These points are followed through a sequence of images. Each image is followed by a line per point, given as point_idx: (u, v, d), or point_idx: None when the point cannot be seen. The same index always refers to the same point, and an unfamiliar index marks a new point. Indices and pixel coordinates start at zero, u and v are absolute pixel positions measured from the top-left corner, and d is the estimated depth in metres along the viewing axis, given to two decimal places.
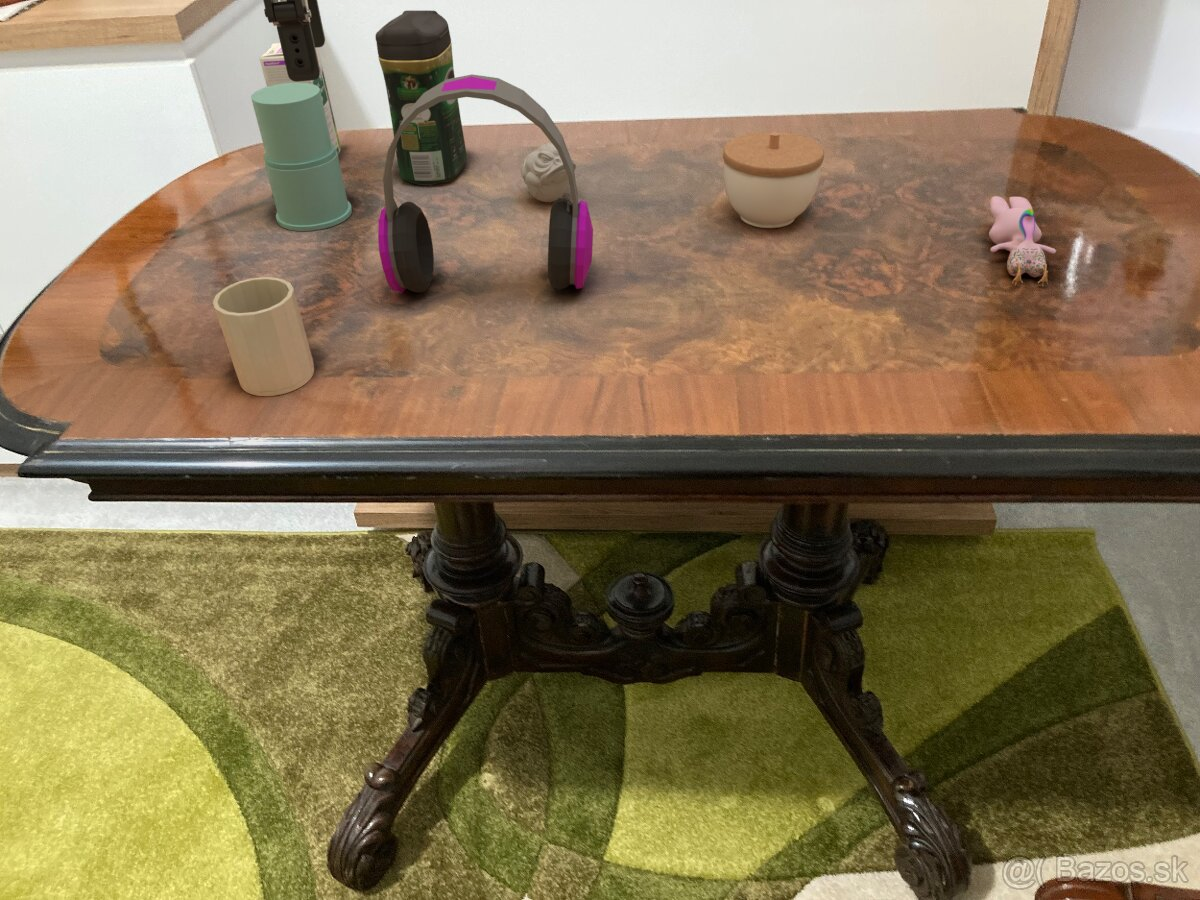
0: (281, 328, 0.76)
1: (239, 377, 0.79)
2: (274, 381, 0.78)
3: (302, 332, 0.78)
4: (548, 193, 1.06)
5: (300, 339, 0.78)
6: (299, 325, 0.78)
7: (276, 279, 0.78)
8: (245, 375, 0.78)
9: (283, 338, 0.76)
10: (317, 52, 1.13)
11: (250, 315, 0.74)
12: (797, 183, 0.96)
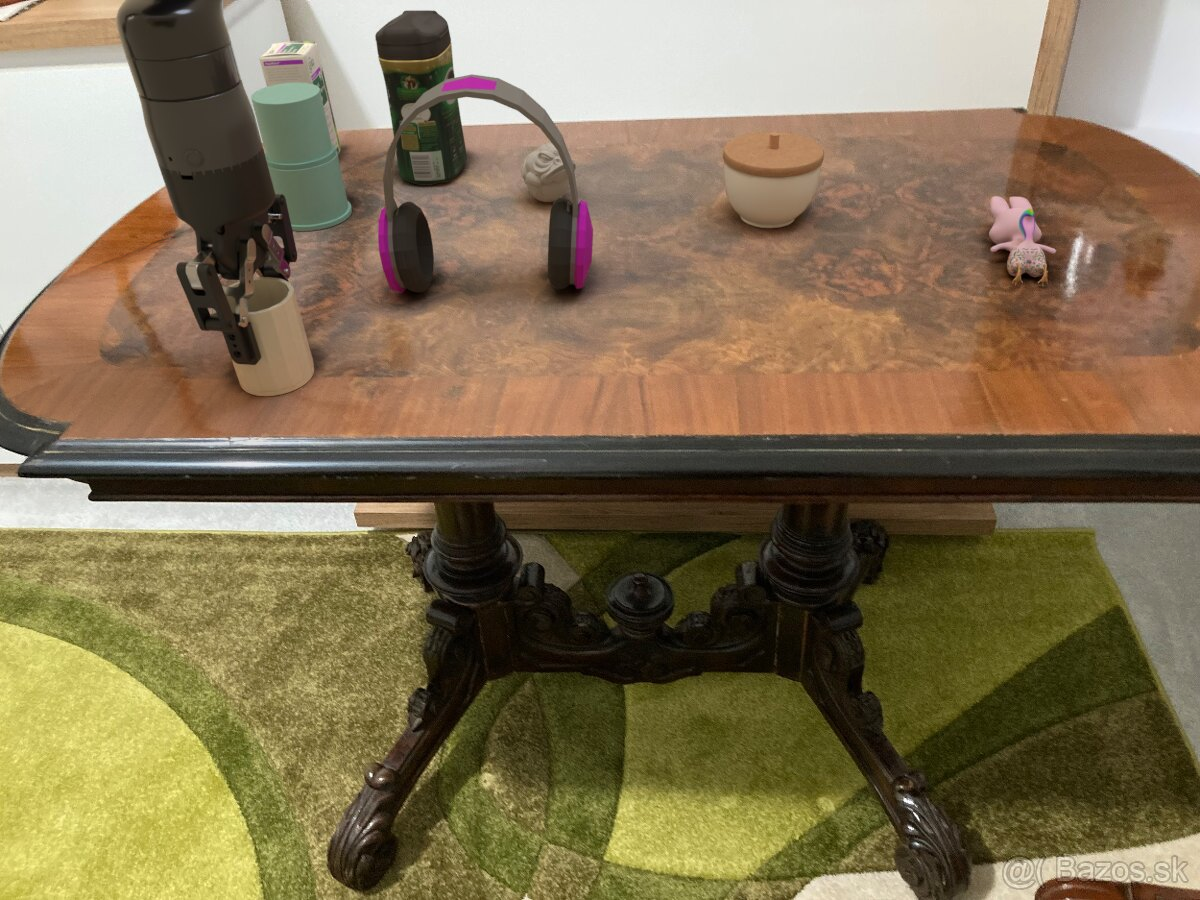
0: (281, 328, 0.76)
1: (239, 377, 0.79)
2: (274, 381, 0.78)
3: (302, 332, 0.78)
4: (548, 193, 1.06)
5: (300, 339, 0.78)
6: (299, 325, 0.78)
7: (276, 279, 0.78)
8: (245, 375, 0.78)
9: (283, 338, 0.76)
10: (317, 52, 1.13)
11: (250, 315, 0.74)
12: (797, 183, 0.96)
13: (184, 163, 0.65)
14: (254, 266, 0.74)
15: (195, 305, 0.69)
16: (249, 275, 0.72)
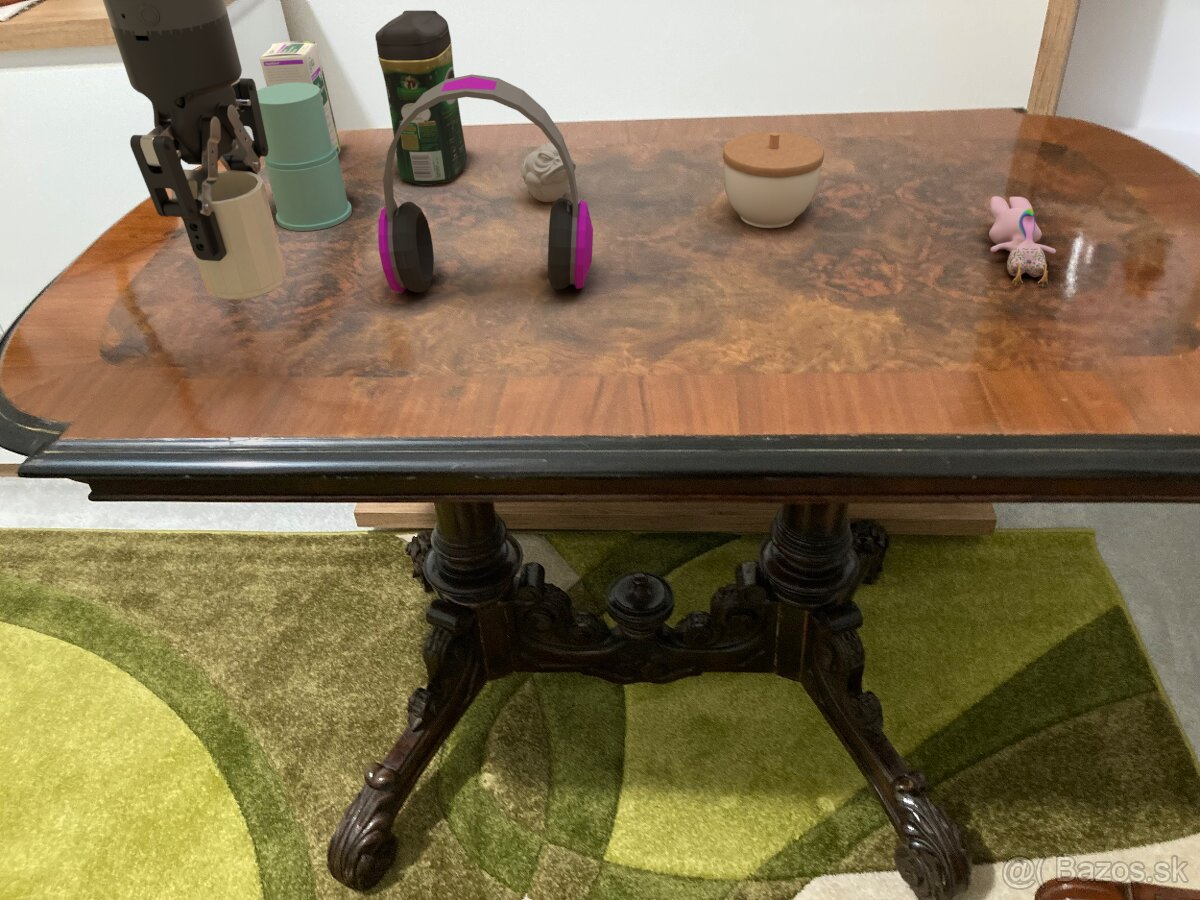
0: (249, 221, 0.70)
1: (204, 278, 0.73)
2: (241, 282, 0.72)
3: (272, 230, 0.73)
4: (548, 193, 1.06)
5: (270, 237, 0.72)
6: (268, 221, 0.72)
7: (245, 172, 0.72)
8: (209, 275, 0.72)
9: (251, 233, 0.70)
10: (317, 52, 1.13)
11: (214, 204, 0.68)
12: (797, 183, 0.96)
13: (138, 21, 0.59)
14: (219, 151, 0.68)
15: (151, 185, 0.63)
16: (212, 158, 0.66)
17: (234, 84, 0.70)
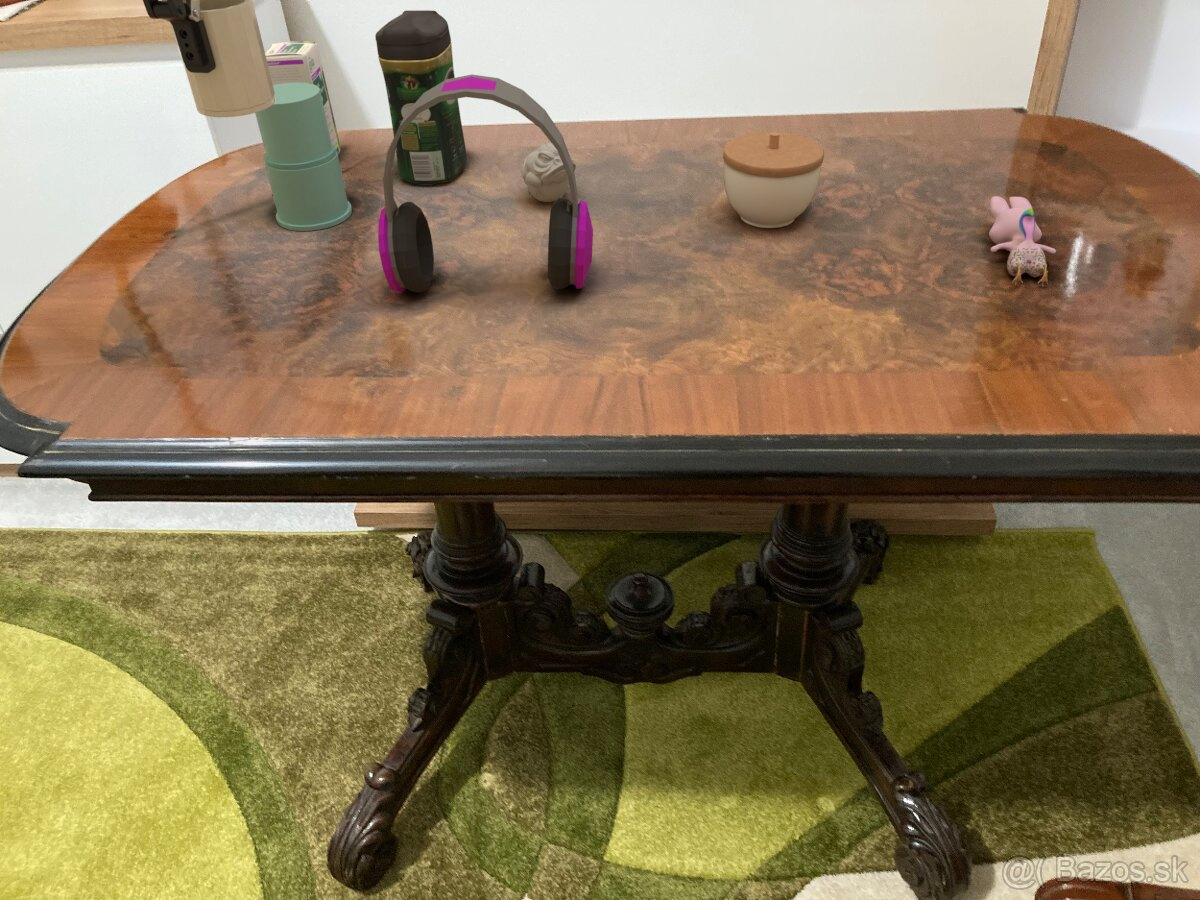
0: (237, 34, 0.72)
1: (195, 97, 0.75)
2: (231, 98, 0.74)
3: (261, 50, 0.75)
4: (548, 193, 1.06)
5: (259, 56, 0.75)
6: (257, 39, 0.74)
7: None
8: (200, 92, 0.74)
9: (239, 47, 0.73)
10: (317, 52, 1.13)
11: (203, 13, 0.70)
12: (797, 183, 0.96)
13: None
14: None
15: None
16: None
17: None
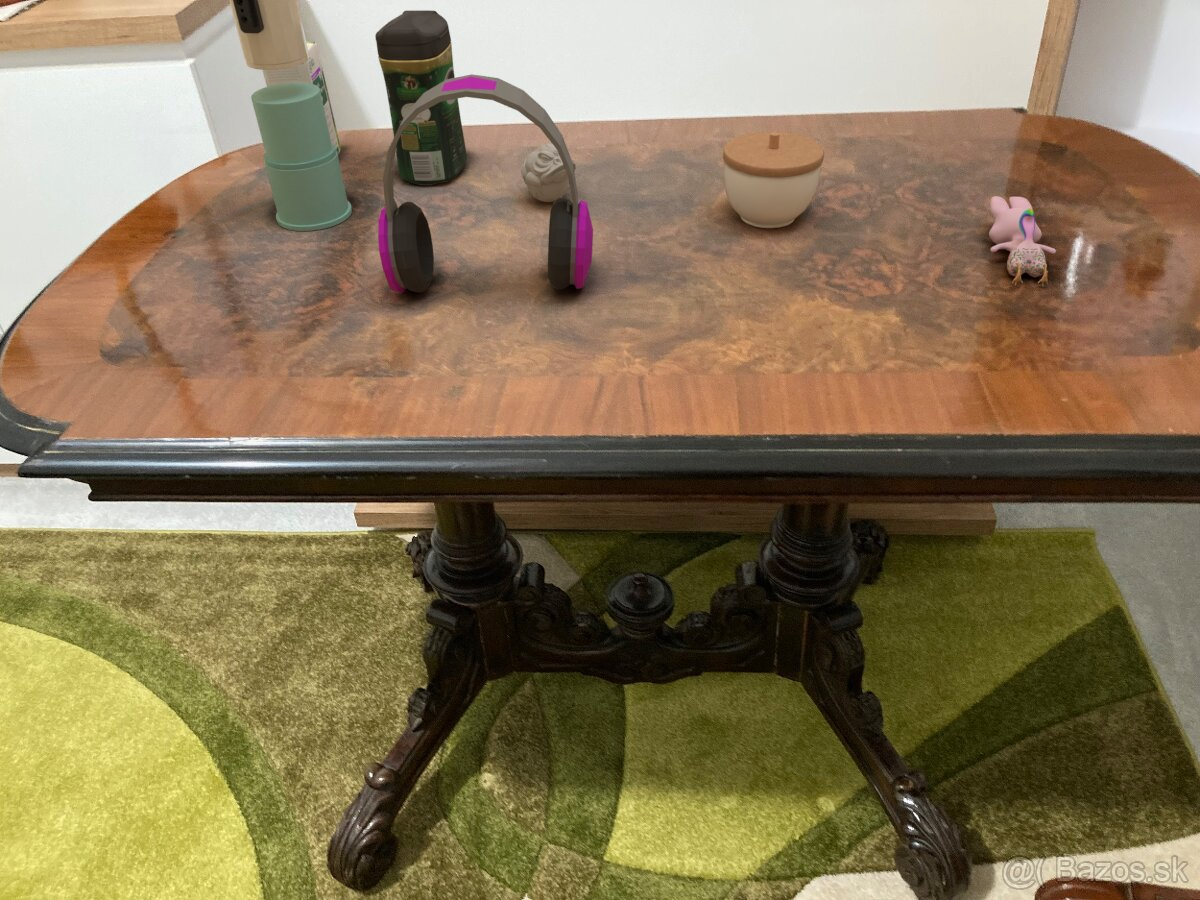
0: (281, 2, 0.91)
1: (246, 53, 0.94)
2: (275, 54, 0.93)
3: (299, 16, 0.94)
4: (548, 193, 1.06)
5: (297, 20, 0.94)
6: (296, 6, 0.93)
7: None
8: (251, 49, 0.93)
9: (283, 13, 0.92)
10: (317, 52, 1.13)
11: None
12: (797, 183, 0.96)
13: None
14: None
15: None
16: None
17: None
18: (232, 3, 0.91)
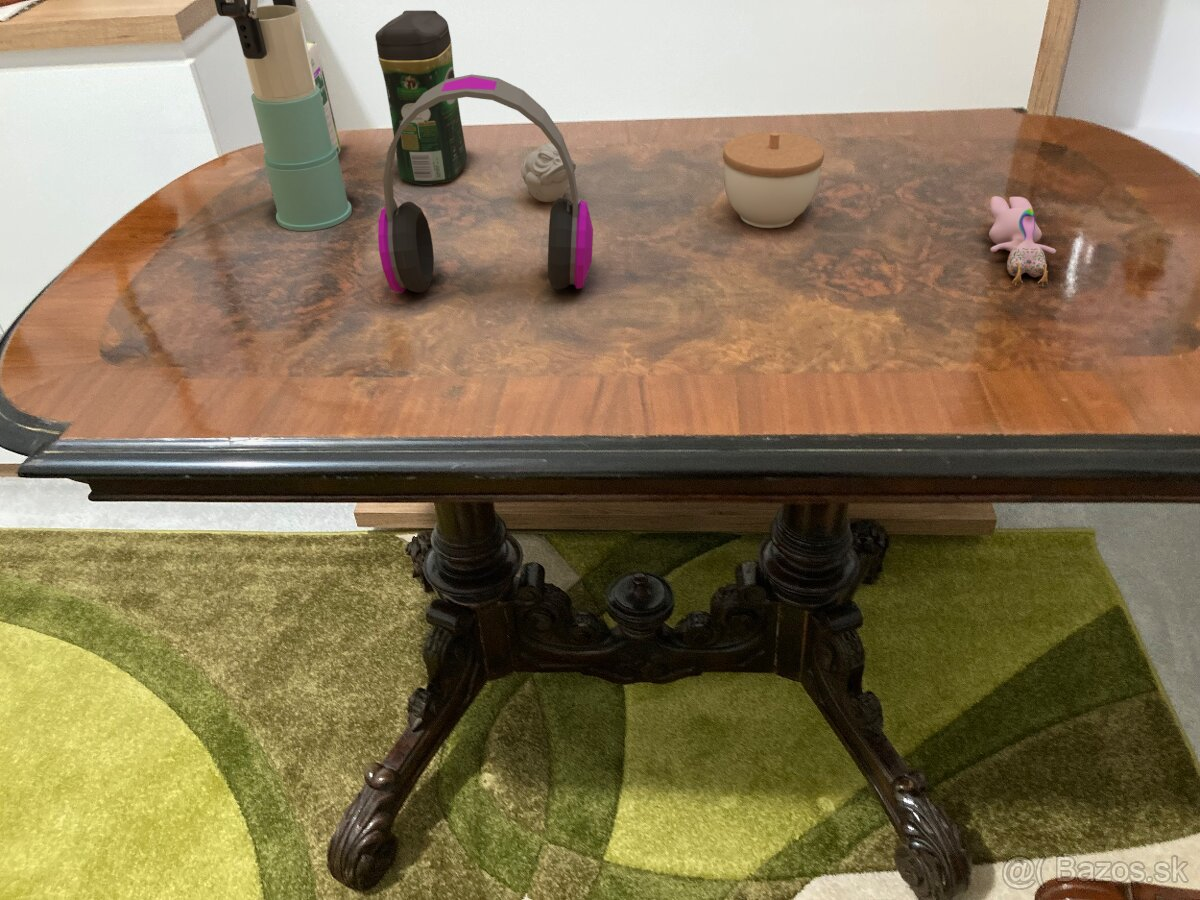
0: (289, 37, 0.93)
1: (254, 86, 0.96)
2: (283, 87, 0.95)
3: (306, 49, 0.96)
4: (548, 193, 1.06)
5: (304, 54, 0.96)
6: (303, 41, 0.95)
7: (285, 5, 0.96)
8: (259, 83, 0.95)
9: (291, 48, 0.94)
10: (317, 52, 1.13)
11: (264, 21, 0.91)
12: (797, 183, 0.96)
13: None
14: None
15: None
16: None
17: None
18: None
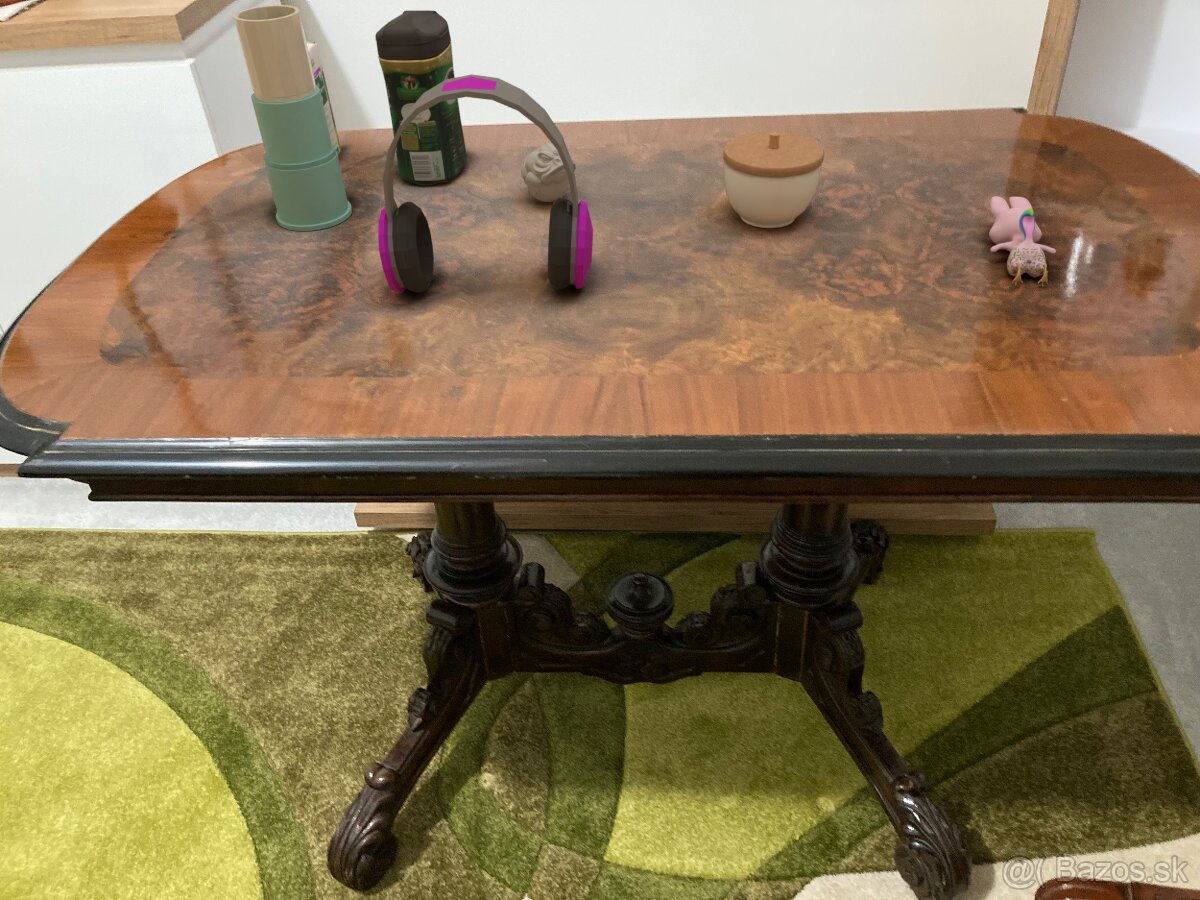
0: (289, 37, 0.93)
1: (254, 86, 0.96)
2: (283, 87, 0.95)
3: (306, 49, 0.96)
4: (548, 193, 1.06)
5: (304, 54, 0.96)
6: (303, 41, 0.95)
7: (285, 5, 0.96)
8: (259, 83, 0.95)
9: (291, 48, 0.94)
10: (317, 52, 1.13)
11: (264, 21, 0.91)
12: (797, 183, 0.96)
13: None
14: None
15: None
16: None
17: None
18: (241, 38, 0.93)
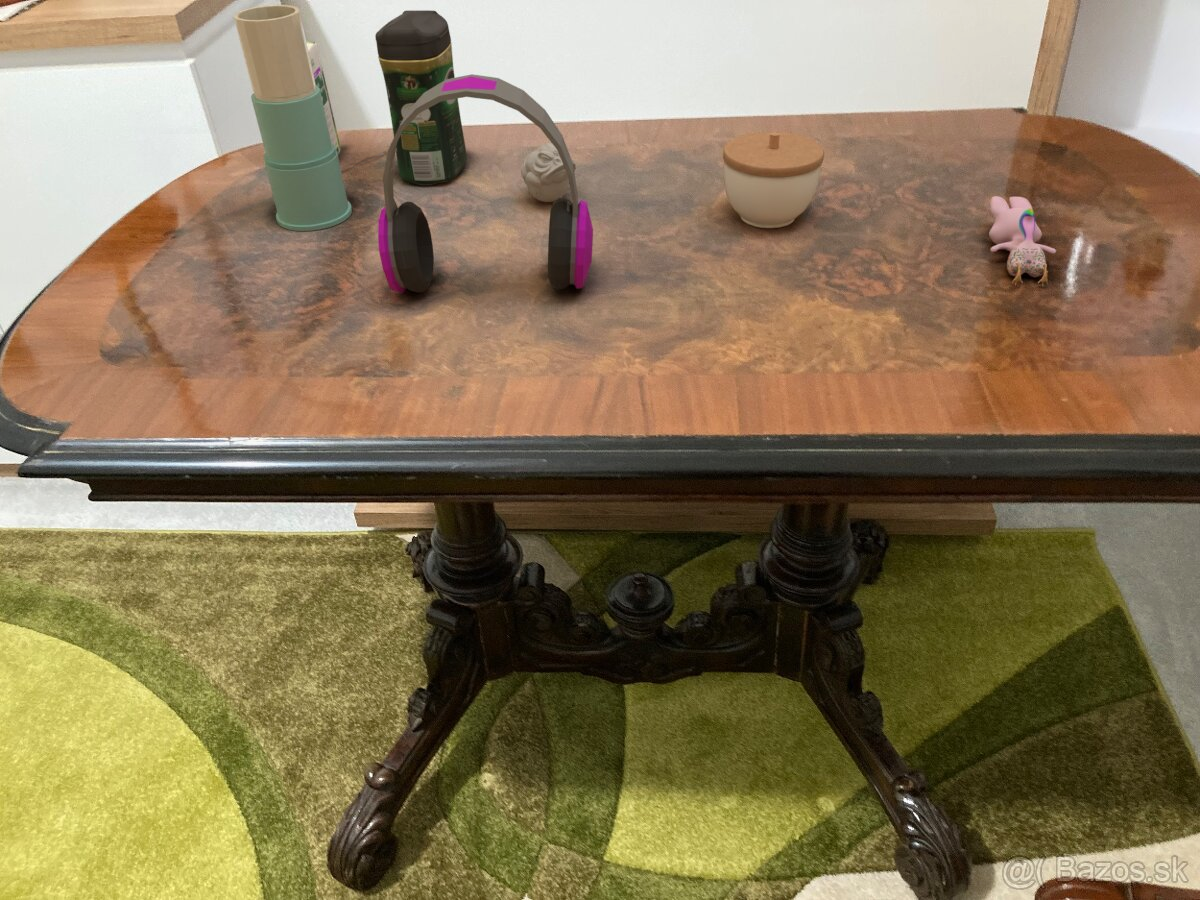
0: (289, 37, 0.93)
1: (254, 86, 0.96)
2: (283, 87, 0.95)
3: (306, 49, 0.96)
4: (548, 193, 1.06)
5: (304, 54, 0.96)
6: (303, 41, 0.95)
7: (285, 5, 0.96)
8: (259, 83, 0.95)
9: (291, 48, 0.94)
10: (317, 52, 1.13)
11: (264, 21, 0.91)
12: (797, 183, 0.96)
13: None
14: None
15: None
16: None
17: None
18: (241, 38, 0.93)
